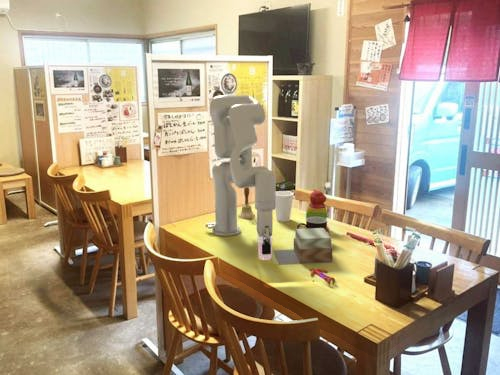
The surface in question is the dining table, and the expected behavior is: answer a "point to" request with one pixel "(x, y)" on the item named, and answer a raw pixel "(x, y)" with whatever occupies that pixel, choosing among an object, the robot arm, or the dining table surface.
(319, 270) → the toy figure
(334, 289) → the dining table surface
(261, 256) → the beverage cup
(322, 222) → the coffee mug
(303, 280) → the dining table surface
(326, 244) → the marbled stone cube
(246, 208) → the hand bell
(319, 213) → the stacking bear
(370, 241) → the long red tool
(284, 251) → the base board
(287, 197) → the foam cup
